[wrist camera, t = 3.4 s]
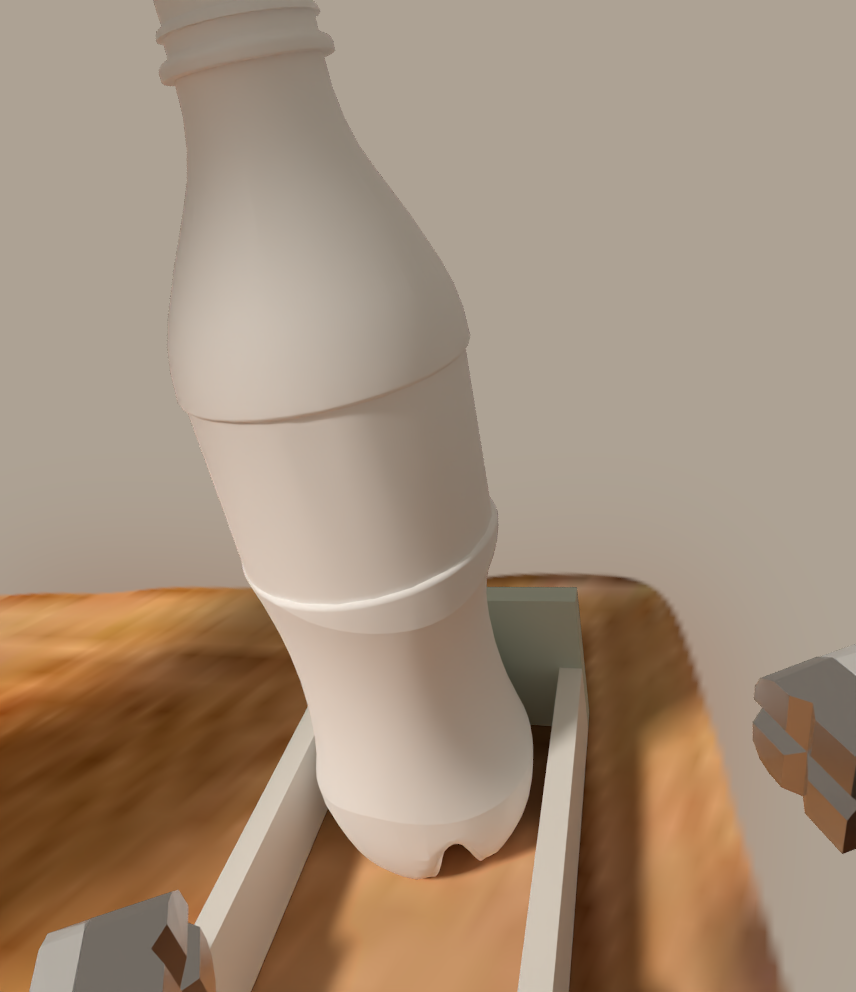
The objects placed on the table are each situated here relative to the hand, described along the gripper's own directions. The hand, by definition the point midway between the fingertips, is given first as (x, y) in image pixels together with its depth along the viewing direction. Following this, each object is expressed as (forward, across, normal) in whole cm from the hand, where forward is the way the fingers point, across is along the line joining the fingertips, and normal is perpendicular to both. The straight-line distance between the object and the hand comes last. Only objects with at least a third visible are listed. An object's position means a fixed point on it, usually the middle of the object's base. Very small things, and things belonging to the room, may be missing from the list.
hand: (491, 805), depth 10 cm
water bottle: (+11, 0, +13) cm, 17 cm away
